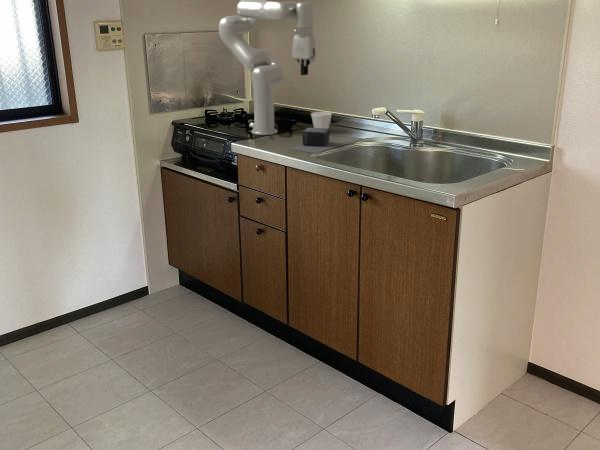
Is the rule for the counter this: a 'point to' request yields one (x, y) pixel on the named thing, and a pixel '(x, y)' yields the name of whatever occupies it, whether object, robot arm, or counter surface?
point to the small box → (316, 136)
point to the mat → (317, 147)
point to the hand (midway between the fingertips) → (304, 74)
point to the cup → (321, 119)
